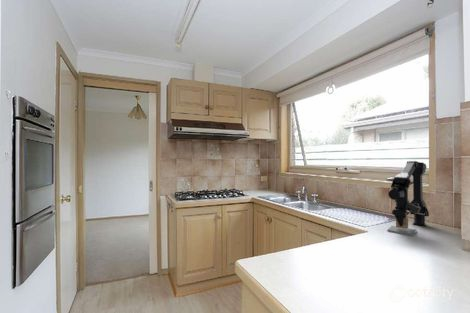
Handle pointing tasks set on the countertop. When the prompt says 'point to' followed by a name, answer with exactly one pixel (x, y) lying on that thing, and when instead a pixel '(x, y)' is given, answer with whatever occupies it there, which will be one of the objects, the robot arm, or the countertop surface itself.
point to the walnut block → (405, 224)
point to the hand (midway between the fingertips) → (402, 225)
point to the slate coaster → (402, 230)
